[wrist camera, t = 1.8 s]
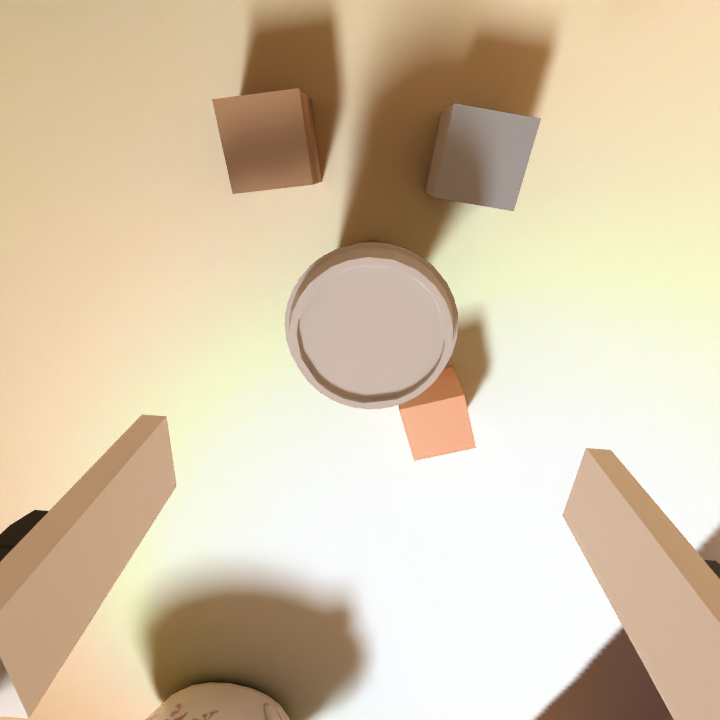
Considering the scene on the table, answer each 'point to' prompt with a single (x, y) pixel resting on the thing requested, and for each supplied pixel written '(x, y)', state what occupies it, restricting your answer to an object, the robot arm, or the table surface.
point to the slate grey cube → (480, 156)
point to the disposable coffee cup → (371, 325)
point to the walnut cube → (268, 140)
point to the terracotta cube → (438, 418)
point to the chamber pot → (219, 704)
